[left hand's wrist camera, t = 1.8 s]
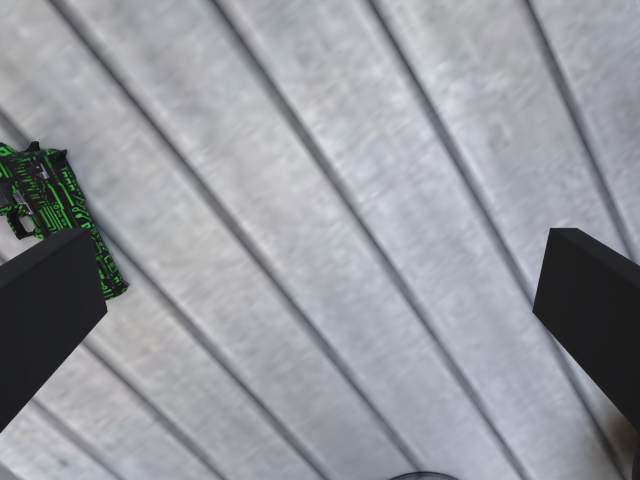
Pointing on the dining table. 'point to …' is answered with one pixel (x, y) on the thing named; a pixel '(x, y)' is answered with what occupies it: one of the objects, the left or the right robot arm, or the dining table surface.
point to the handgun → (50, 203)
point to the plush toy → (636, 465)
